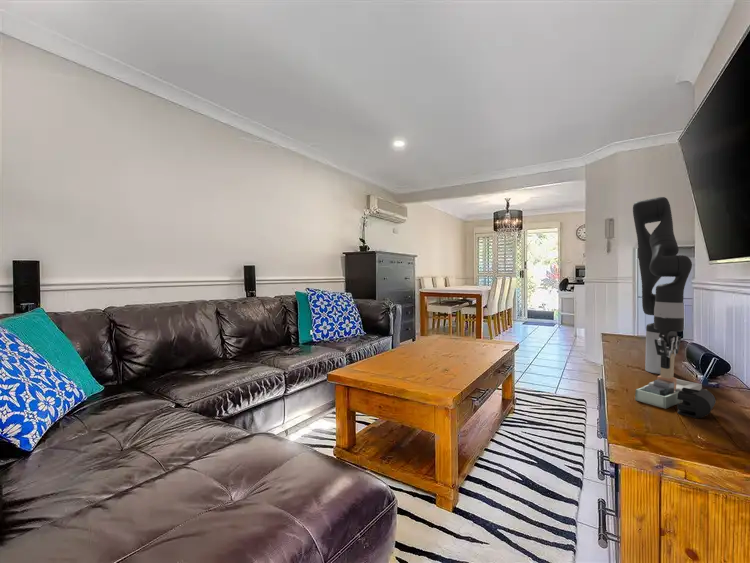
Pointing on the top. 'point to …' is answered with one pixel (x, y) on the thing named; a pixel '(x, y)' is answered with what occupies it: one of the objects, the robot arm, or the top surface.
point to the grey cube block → (665, 386)
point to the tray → (656, 398)
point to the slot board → (684, 386)
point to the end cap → (695, 402)
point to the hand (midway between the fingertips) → (667, 367)
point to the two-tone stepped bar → (669, 372)
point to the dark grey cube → (655, 390)
